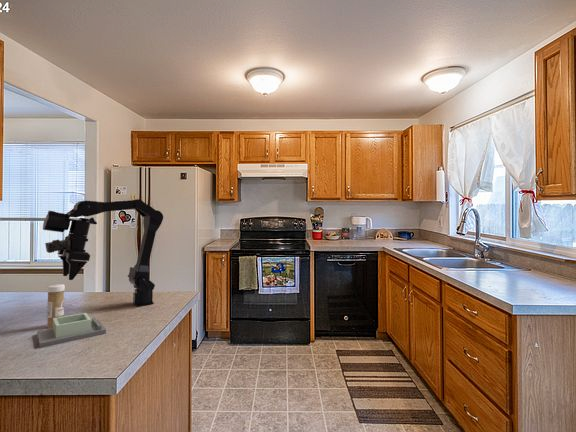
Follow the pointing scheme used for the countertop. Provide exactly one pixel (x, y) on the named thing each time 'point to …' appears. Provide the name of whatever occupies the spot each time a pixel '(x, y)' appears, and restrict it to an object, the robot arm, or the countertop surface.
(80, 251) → the robot arm
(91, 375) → the countertop surface
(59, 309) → the sprinkles bottle
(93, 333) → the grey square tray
